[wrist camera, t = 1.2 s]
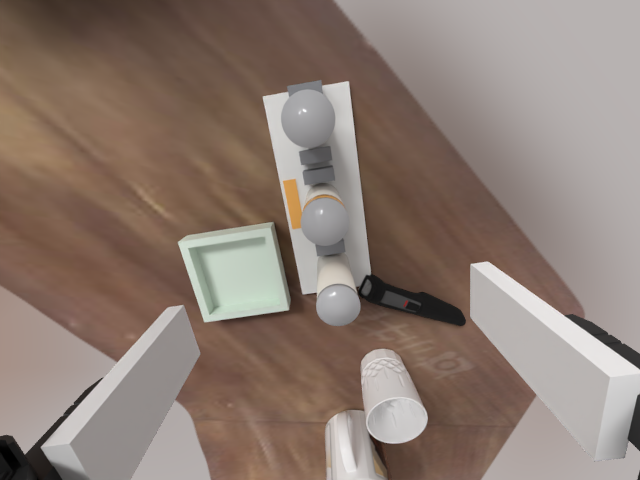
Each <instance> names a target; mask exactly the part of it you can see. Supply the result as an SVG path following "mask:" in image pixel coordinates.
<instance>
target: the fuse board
mask: <svg viewBox="0 0 640 480" xmlns="http://www.w3.org/2000/svg"><path fill="white" fill-rule="evenodd" d="M287 88H288V92H285V93H280V94H274V95H268V96H263V101H264V106H265V111H266V115H267V120H268V125H269V130H270V135H271V140H272V145H273V150H274V155H275V160H276V165H277V170H278V175H279V180H280V185H281V190H282V195H283V200H284V205H285V210H286V215H287V219H288V224H289V229H290V234H291V239H292V244H293V249H294V254H295V259H296V264H297V269H298V274H299V279H300V284H301V289H302V294H310V293H317V262H318V258H319V256H324V255H331V254H337V253H345V254H346V255H347V257H348V259H349V263H350V267H351V271H352V275H353V279H354V283H355V286H356V287H358V286H360V285H361V283H362V281H363V279H364V277H365V276H366V275H369V276H370V275H371V268H370V260H369V251H368V243H367V234H366V225H365V217H364V208H363V200H362V191H361V182H360V174H359V165H358V157H357V148H356V140H355V131H354V122H353V114H352V105H351V97H350V88H349V81H347V82H341V83H336V84H330V85H324V86H322V84H321V80H319V81H313V82H308V83H302V84H296V85H291V86H287ZM306 89H309V90H315V91H318V92H320V93H322V94H323V95H324V96H326V97H327V98H328V100H329V101H330V102H331V104H332V106H333V109H334V112H335V126H334V130H333V132H332V134H331V136H330V137H329V138H328V139H327V140H326V141H325V142H324V143H323V144H321V145H319V146H317V147H313V148H304V147H300V146H298V145H296V144H294V143H293V142H292V141H290V140H289V138H288V137H287V136H286V134H285V132H284V130H283V128H282V123H281V113H282V109H283V106H284V104H285V102H286V101H287V100H288V98H289V97H290V96H291V95H293V94H294V93H296V92H298V91H301V90H306ZM318 183H328V184H331V185H333V186H334V187H335V188H336V189H337V190H338V192H339V195H340V197H341V200H342V202H343V205H344V206H345V208H346V211H347V213H348V216H349V228H348V231H347V233H346V235H345V236H344V237H343V238H342V239H341V240H340V241H339V242H337V243H335V244H333V245H329V246H321V245H317V244H314V243H312V242H311V241H309V240H308V239H307V238H306V237H305V235H304V234H303V232H302V229H301V216H302V212H303V208H304V205H305V200H306V195H307V193H308V191H309V189H310V188H311V187H312V186H314V185H315V184H318Z"/></svg>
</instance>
